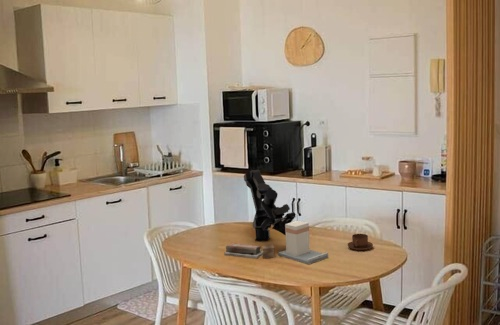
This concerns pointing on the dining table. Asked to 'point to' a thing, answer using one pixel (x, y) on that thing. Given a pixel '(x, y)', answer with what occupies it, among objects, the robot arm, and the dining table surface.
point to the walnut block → (268, 251)
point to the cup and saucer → (360, 242)
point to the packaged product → (243, 250)
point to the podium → (305, 256)
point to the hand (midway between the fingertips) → (287, 235)
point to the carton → (297, 238)
